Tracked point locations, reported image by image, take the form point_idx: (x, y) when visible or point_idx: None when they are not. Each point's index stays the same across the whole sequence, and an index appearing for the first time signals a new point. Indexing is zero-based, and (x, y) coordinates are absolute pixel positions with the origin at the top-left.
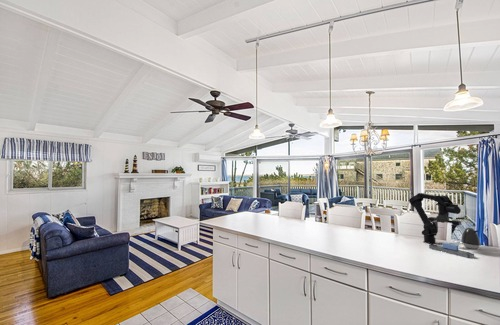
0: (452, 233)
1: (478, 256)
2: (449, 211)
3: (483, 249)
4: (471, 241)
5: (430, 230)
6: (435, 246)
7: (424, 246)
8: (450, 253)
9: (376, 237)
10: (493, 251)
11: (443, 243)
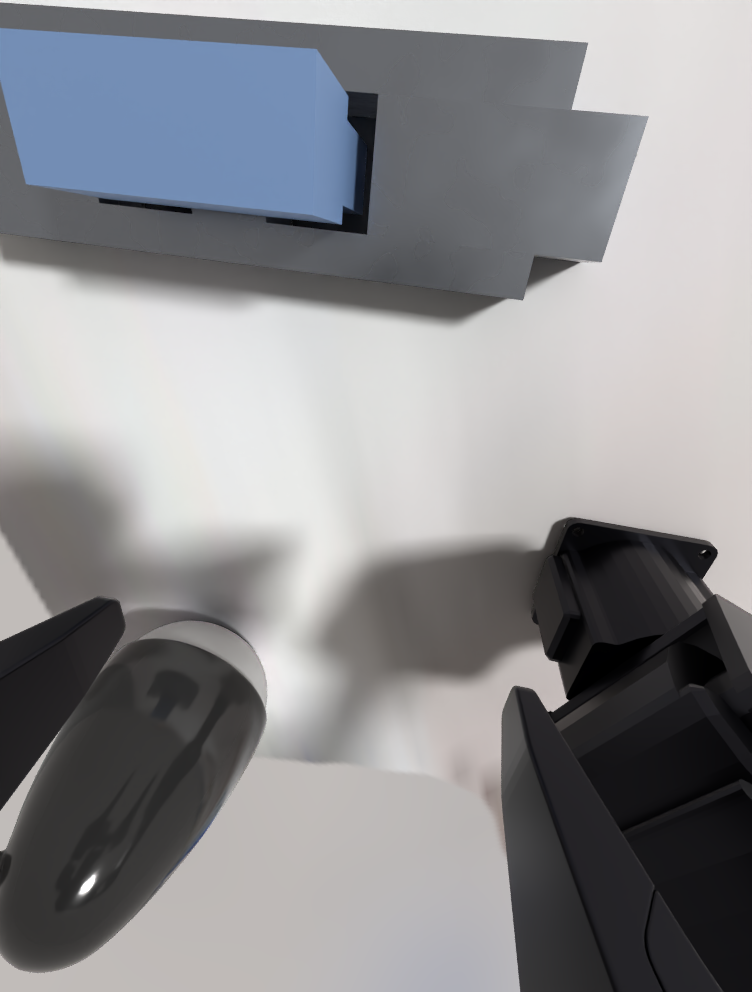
0: (101, 597)
1: (9, 328)
2: None
3: None
4: (121, 675)
5: (719, 717)
6: (496, 90)
7: (714, 223)
8: None
9: None
10: None
11: (285, 52)
